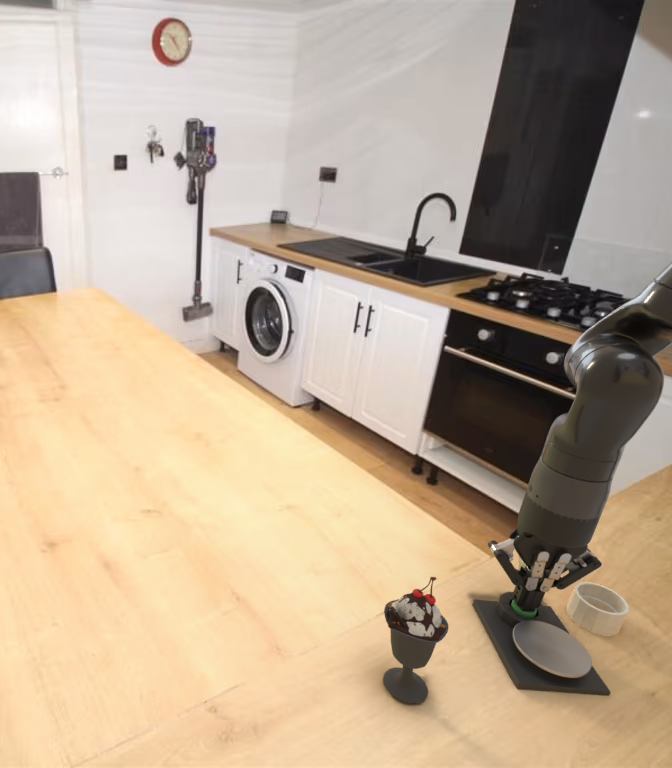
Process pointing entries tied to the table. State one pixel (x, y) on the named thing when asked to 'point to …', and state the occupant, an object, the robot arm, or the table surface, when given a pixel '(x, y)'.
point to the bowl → (597, 608)
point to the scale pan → (552, 649)
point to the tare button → (523, 613)
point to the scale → (519, 668)
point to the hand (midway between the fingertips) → (524, 606)
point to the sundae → (412, 642)
